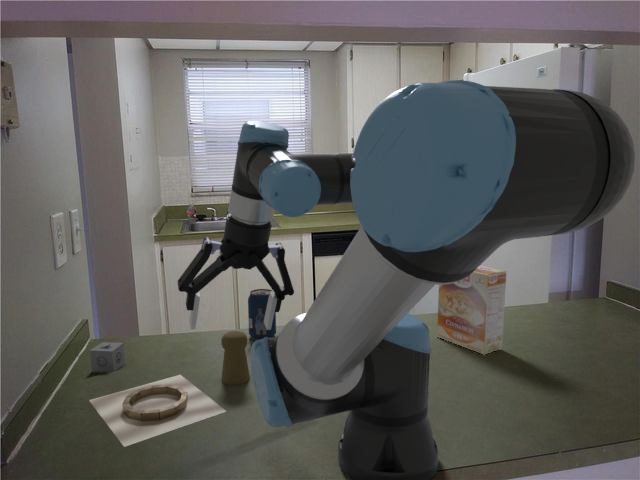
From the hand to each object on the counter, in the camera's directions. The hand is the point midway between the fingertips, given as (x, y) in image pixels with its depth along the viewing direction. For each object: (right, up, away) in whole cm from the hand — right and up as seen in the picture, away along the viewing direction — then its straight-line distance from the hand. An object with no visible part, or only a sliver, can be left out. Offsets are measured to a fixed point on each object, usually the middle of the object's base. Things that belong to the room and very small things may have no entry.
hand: (230, 325), depth 93 cm
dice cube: (-31, -13, +21) cm, 39 cm away
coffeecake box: (+53, -10, +34) cm, 64 cm away
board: (-14, -16, +1) cm, 21 cm away
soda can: (+1, -10, +40) cm, 41 cm away
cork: (-1, -14, +13) cm, 19 cm away
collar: (-14, -15, +1) cm, 20 cm away
